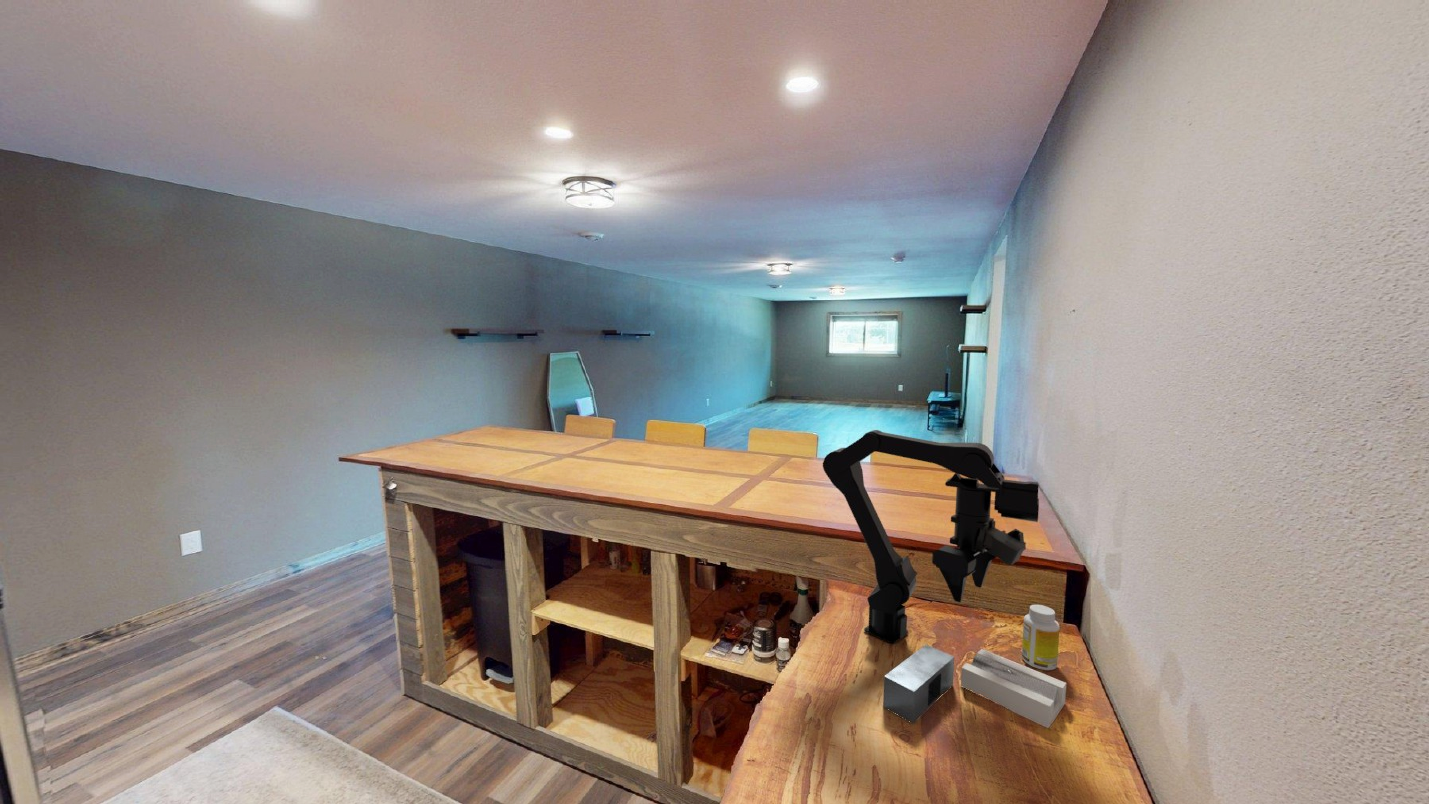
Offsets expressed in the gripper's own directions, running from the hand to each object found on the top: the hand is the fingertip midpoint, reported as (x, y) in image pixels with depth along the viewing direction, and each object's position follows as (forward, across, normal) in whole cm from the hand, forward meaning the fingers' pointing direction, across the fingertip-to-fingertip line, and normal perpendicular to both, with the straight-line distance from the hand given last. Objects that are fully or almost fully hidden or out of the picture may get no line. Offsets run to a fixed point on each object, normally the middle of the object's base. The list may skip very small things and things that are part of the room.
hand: (968, 593), depth 95 cm
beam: (+12, -18, 0) cm, 22 cm away
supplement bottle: (+12, +8, -10) cm, 18 cm away
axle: (+9, -6, -10) cm, 15 cm away
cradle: (+12, -6, -10) cm, 17 cm away
